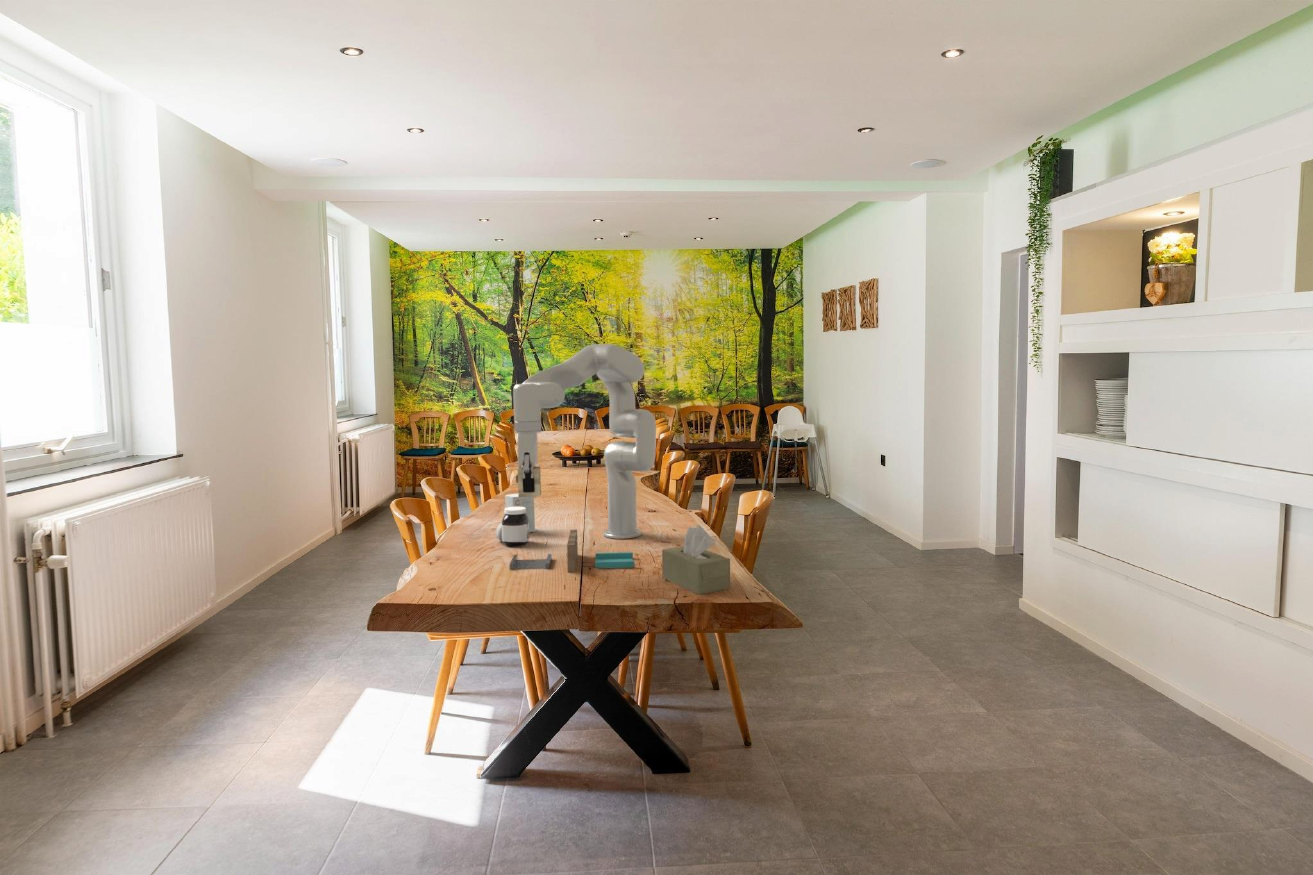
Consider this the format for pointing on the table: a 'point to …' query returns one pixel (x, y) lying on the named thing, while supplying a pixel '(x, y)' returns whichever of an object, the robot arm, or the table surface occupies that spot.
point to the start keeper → (530, 563)
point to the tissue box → (696, 564)
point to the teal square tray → (614, 560)
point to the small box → (526, 502)
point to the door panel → (572, 551)
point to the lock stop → (536, 482)
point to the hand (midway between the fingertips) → (529, 489)
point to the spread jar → (514, 527)
